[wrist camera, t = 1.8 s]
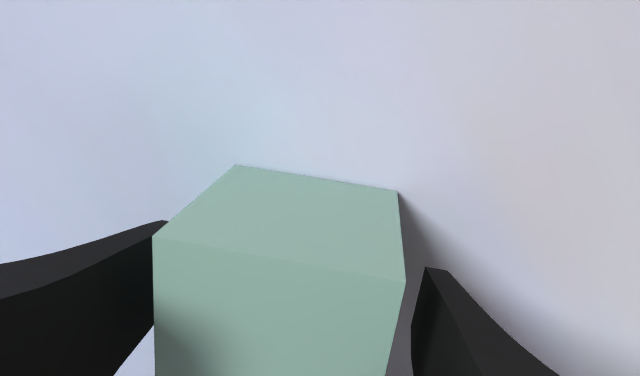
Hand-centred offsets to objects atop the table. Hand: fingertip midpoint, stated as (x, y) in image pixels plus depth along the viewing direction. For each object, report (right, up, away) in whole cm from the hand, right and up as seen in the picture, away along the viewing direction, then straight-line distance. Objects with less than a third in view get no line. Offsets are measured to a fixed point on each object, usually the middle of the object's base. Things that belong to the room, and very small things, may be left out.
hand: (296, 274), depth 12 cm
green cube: (0, 0, +1) cm, 2 cm away
